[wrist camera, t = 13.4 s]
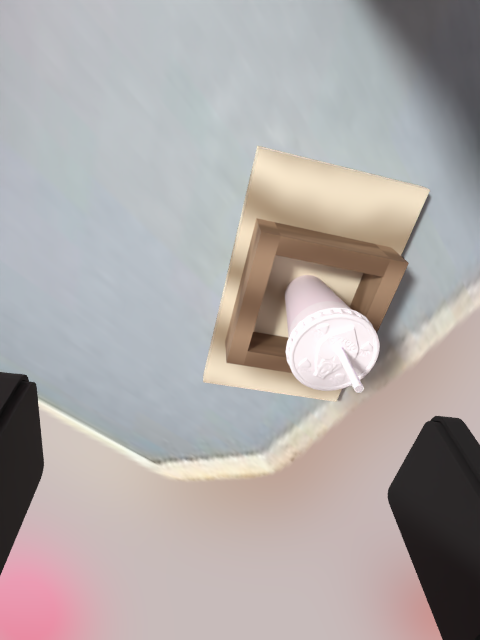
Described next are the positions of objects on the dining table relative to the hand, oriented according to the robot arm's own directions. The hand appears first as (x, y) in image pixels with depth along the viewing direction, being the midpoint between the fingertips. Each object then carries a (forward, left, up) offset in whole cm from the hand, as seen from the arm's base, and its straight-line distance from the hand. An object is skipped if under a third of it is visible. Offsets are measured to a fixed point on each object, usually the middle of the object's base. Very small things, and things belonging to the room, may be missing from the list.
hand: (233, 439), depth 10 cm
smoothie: (+7, +9, -26) cm, 28 cm away
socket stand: (+7, +9, -27) cm, 29 cm away
